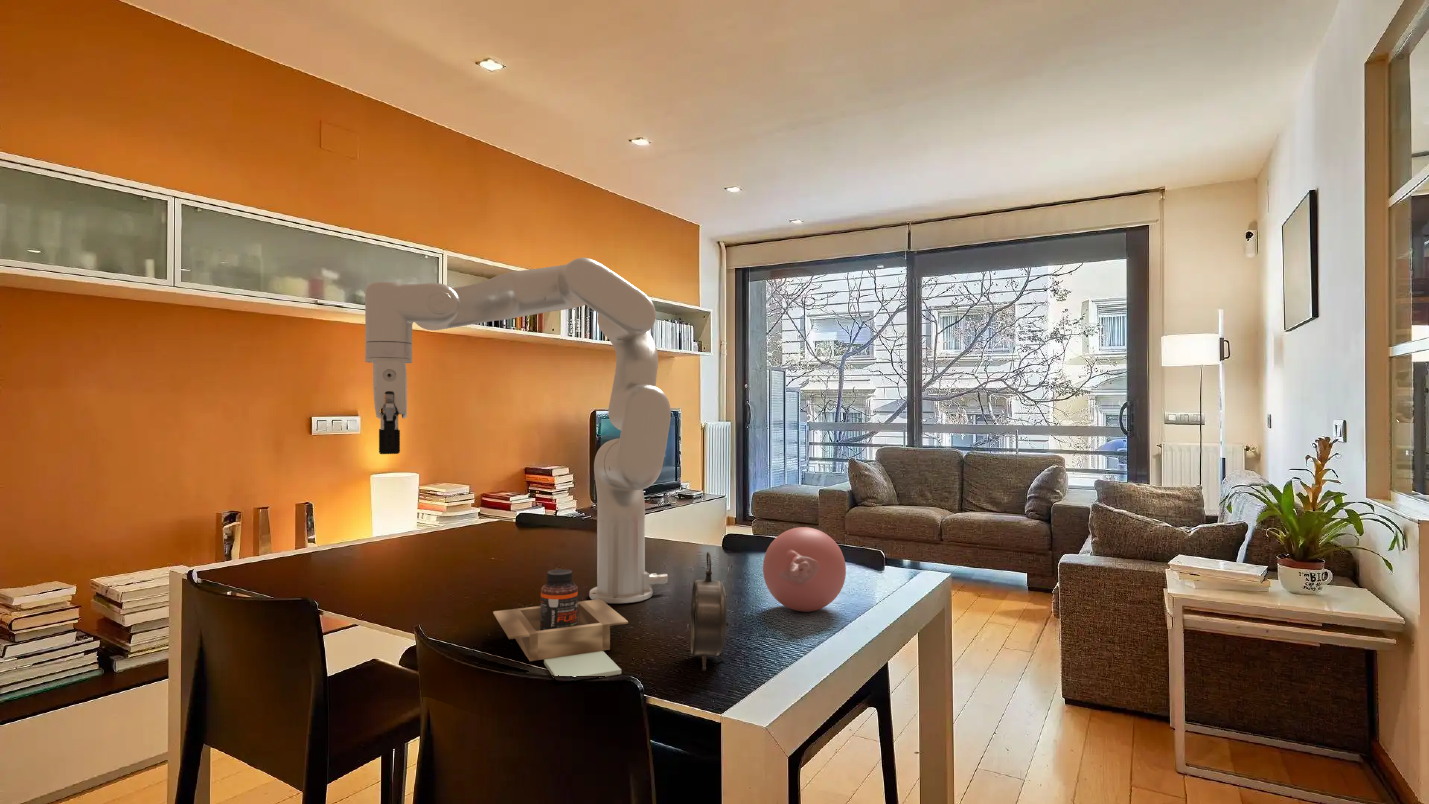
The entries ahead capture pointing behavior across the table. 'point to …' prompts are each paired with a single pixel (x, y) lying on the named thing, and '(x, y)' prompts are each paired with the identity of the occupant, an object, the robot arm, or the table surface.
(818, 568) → the salmon rubber sphere
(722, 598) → the alarm clock
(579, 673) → the coaster
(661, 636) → the table surface
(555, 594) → the supplement bottle
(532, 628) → the carton
